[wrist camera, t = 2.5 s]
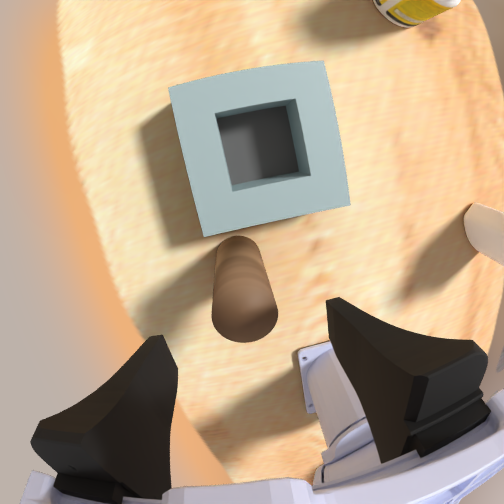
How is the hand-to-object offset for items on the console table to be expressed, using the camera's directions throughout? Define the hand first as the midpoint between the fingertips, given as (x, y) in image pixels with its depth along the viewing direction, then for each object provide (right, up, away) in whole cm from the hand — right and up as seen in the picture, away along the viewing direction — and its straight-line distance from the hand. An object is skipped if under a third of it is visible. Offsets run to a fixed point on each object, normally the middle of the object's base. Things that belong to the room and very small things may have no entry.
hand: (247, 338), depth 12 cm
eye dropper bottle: (+22, +6, +10) cm, 25 cm away
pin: (-1, +3, +9) cm, 10 cm away
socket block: (+1, +11, +7) cm, 13 cm away
